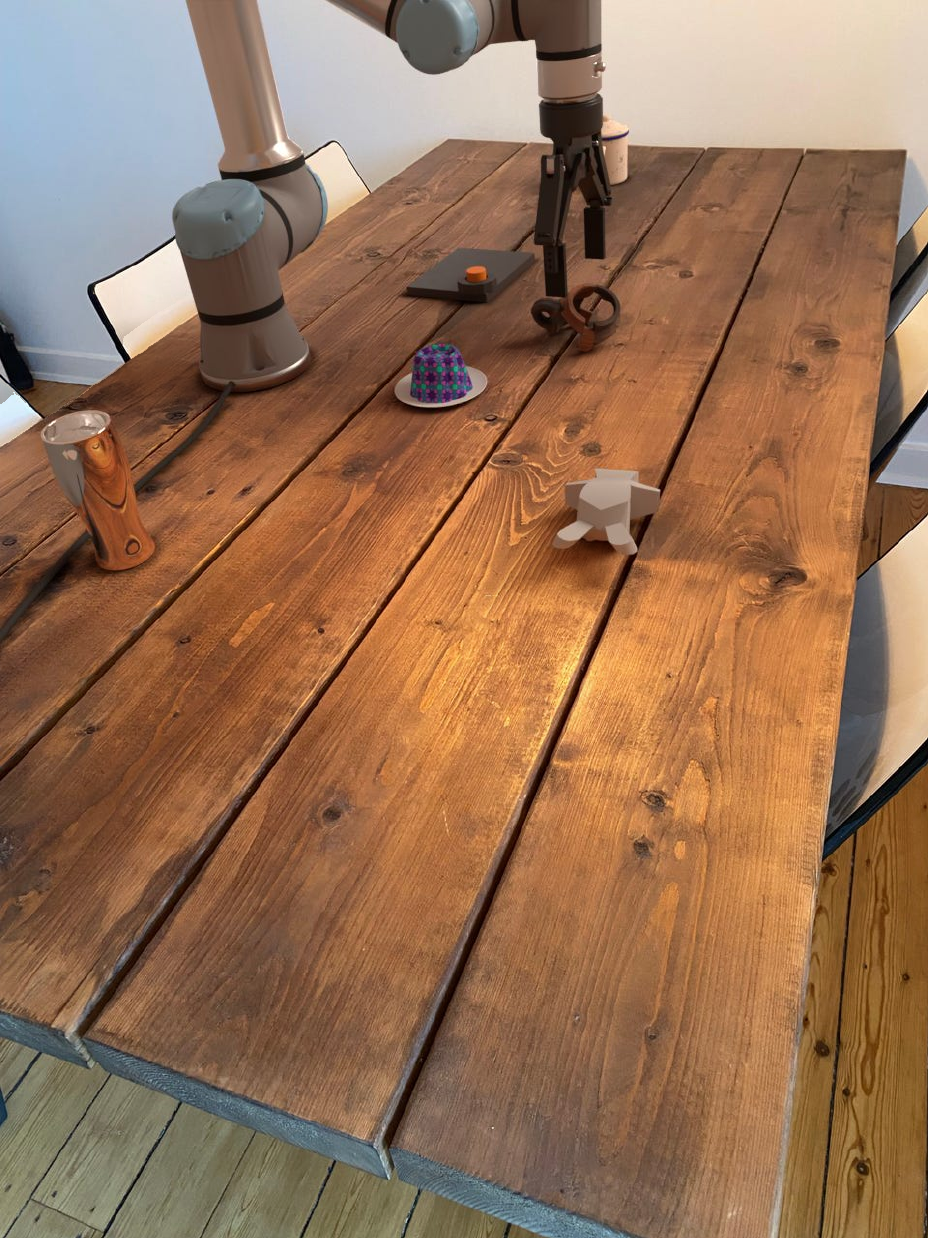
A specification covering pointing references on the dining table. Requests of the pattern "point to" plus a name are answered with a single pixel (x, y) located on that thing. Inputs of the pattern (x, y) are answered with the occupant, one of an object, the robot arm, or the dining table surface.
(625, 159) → the teacup with lid
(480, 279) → the button
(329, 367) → the dining table surface
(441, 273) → the scale
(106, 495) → the beer glass
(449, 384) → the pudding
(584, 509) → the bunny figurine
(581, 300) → the rusty split ring clamp
